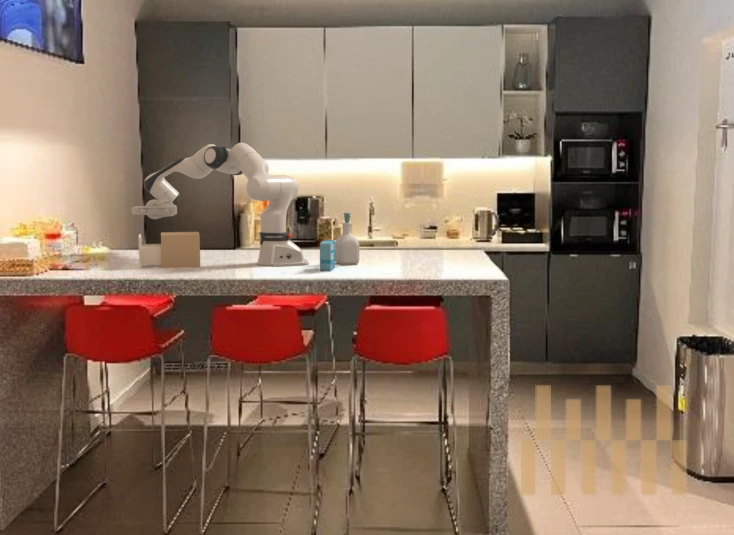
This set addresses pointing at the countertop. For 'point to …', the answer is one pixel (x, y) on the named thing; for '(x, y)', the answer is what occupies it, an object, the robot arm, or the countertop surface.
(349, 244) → the soap bottle
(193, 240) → the carton
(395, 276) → the countertop surface
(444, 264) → the countertop surface
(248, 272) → the countertop surface
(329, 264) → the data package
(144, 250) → the inner tray
